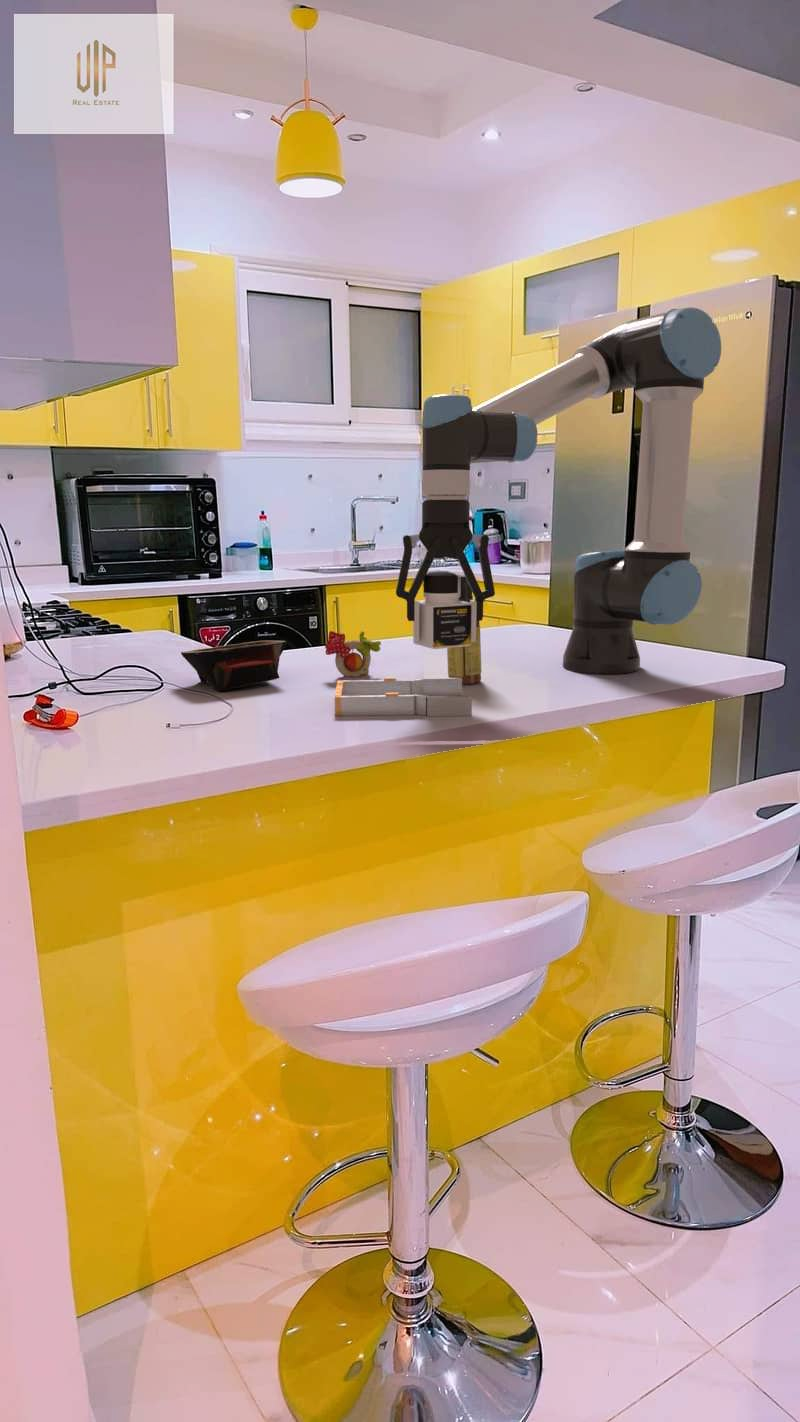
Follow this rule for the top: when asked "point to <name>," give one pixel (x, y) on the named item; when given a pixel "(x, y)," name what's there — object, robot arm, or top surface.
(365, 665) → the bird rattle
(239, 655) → the baking dish
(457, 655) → the sauce bottle
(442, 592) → the medicine bottle
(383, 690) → the keyhole rails
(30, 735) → the top surface
